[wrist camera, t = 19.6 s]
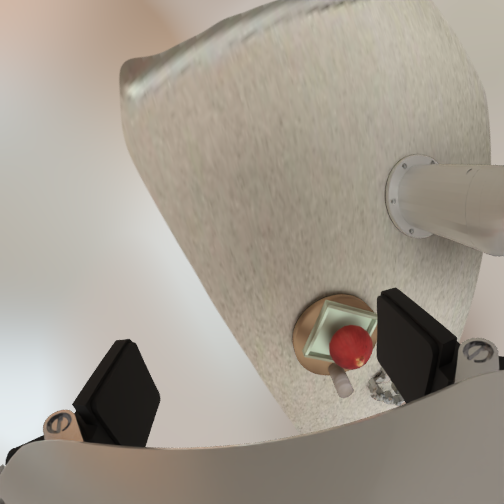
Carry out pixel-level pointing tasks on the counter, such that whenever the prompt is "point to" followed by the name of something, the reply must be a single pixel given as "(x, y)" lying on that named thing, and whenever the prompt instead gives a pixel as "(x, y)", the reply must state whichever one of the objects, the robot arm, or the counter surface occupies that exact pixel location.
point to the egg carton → (386, 395)
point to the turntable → (330, 335)
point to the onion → (351, 347)
